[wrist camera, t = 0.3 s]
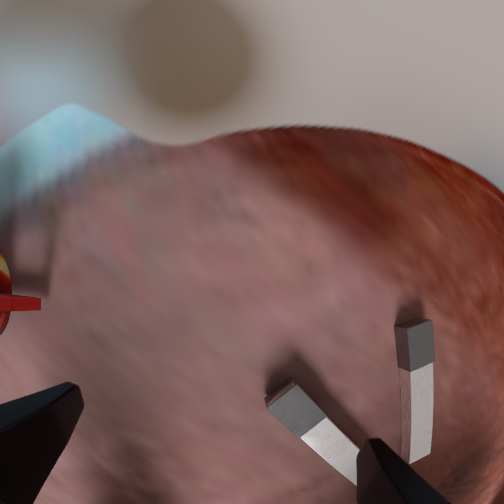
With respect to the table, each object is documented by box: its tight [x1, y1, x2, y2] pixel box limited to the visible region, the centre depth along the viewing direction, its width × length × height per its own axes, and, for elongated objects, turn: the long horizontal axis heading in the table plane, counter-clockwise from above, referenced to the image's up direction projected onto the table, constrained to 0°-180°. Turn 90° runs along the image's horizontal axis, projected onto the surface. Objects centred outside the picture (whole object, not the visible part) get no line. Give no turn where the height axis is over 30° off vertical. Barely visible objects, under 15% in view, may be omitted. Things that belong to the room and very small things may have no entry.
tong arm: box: [264, 377, 360, 486], centre depth 18 cm, size 19×4×2 cm, turn 40°
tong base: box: [394, 318, 435, 464], centre depth 19 cm, size 14×3×2 cm, turn 10°
